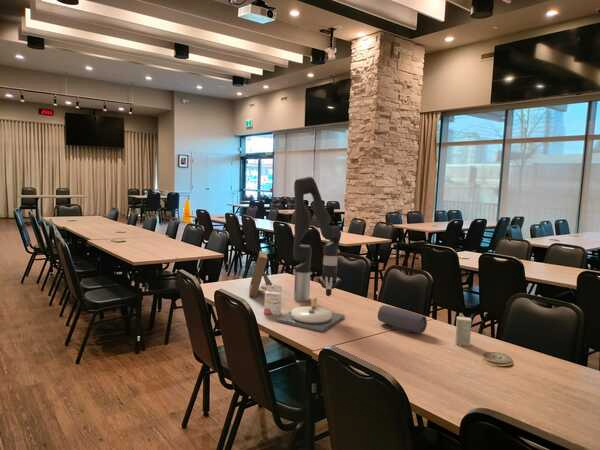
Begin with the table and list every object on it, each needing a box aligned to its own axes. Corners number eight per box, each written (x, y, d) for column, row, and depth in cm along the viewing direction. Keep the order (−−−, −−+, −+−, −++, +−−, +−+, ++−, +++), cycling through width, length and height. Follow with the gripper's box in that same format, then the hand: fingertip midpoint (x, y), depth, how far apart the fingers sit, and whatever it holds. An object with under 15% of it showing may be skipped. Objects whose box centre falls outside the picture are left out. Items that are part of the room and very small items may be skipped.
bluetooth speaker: (426, 333, 202) (428, 313, 201) (417, 338, 196) (419, 317, 195) (386, 321, 218) (387, 302, 217) (376, 325, 211) (377, 306, 210)
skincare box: (469, 343, 191) (471, 317, 190) (469, 347, 187) (472, 320, 186) (454, 341, 193) (456, 315, 192) (454, 344, 189) (457, 318, 188)
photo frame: (249, 297, 252) (250, 256, 249) (249, 288, 273) (251, 250, 271) (273, 297, 253) (275, 257, 251) (272, 288, 275) (274, 251, 272)
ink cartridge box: (263, 314, 221) (264, 287, 220) (265, 311, 226) (266, 284, 225) (279, 315, 221) (280, 288, 219) (281, 312, 226) (282, 285, 224)
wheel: (303, 307, 230) (303, 295, 229) (338, 314, 219) (339, 301, 219) (283, 317, 211) (283, 304, 211) (320, 326, 201) (321, 312, 200)
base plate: (301, 308, 233) (301, 304, 233) (344, 317, 220) (344, 313, 220) (276, 321, 210) (276, 317, 210) (322, 332, 198) (322, 327, 198)
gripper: (343, 263, 222) (341, 295, 224) (318, 261, 225) (317, 293, 226) (342, 265, 215) (340, 298, 217) (316, 264, 217) (315, 296, 219)
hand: (328, 295), depth 221 cm, fingers closed
